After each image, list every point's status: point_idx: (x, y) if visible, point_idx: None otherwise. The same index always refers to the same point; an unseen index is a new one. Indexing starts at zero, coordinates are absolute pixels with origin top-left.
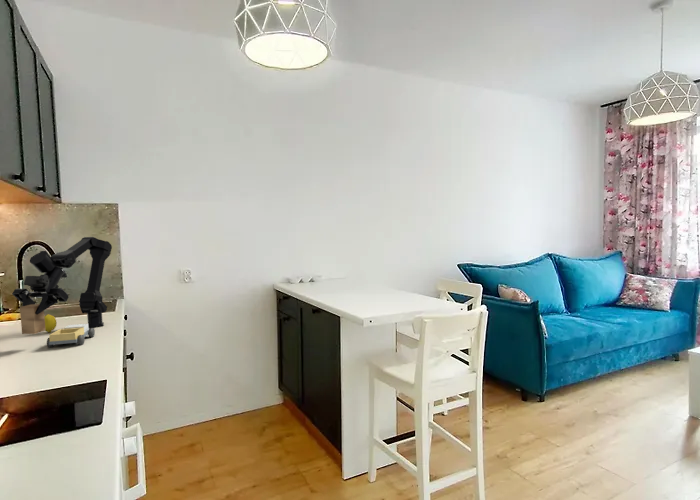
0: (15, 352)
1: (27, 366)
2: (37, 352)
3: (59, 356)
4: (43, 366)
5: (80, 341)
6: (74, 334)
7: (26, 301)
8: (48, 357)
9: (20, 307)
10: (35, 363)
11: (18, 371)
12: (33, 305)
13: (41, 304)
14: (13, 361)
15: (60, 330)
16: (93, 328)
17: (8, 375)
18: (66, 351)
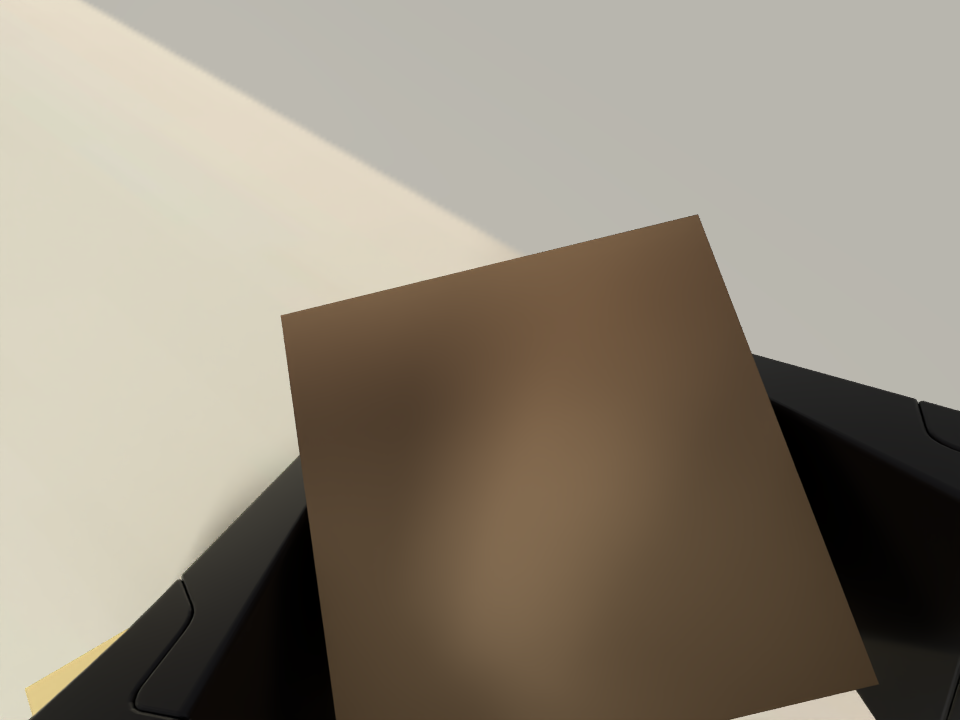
0: None
1: (125, 153)
2: None
3: (69, 369)
4: (11, 179)
5: None
6: (49, 679)
7: (957, 510)
8: (141, 329)
9: (672, 224)
10: (122, 207)
11: (100, 81)
12: (491, 499)
13: (190, 583)
14: (335, 198)
15: None
16: None
17: (100, 26)
18: (117, 494)
